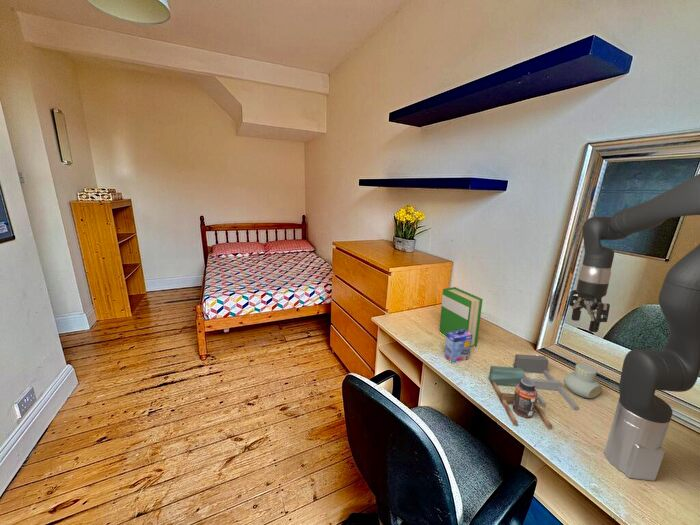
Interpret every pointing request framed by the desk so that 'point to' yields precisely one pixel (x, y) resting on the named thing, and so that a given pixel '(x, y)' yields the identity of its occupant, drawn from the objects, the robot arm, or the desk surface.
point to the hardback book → (460, 312)
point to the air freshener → (583, 381)
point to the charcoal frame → (540, 366)
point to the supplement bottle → (525, 398)
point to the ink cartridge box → (458, 345)
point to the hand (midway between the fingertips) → (583, 325)
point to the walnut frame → (511, 378)
